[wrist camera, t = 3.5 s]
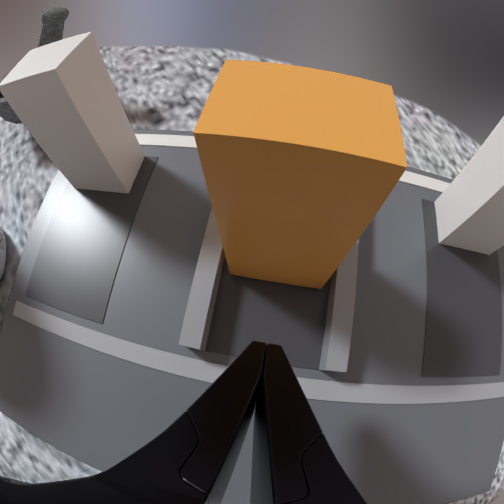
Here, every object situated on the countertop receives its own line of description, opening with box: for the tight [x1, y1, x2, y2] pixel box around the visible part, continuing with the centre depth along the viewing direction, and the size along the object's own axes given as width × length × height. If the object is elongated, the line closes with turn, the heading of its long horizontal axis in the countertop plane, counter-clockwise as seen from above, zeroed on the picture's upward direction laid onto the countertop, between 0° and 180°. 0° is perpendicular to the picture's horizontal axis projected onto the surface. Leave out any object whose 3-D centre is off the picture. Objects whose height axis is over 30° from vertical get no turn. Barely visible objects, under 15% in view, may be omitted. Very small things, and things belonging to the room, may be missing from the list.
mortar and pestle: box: [0, 7, 69, 124], centre depth 20 cm, size 11×9×12 cm
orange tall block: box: [193, 60, 407, 289], centre depth 11 cm, size 3×5×10 cm, turn 80°
